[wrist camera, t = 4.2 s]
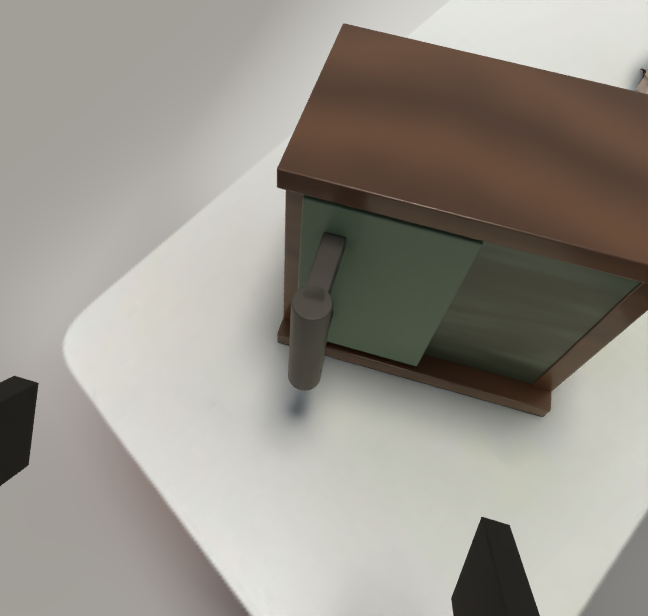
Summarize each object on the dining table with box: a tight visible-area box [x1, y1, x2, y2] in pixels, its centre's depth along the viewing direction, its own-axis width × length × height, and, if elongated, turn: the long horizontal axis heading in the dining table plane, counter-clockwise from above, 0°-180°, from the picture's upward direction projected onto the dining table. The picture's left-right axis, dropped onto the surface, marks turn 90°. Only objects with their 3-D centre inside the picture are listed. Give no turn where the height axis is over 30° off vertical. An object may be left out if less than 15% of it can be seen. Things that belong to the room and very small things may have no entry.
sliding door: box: [288, 195, 483, 390], centre depth 24 cm, size 5×7×11 cm
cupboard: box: [277, 24, 648, 416], centre depth 27 cm, size 10×16×14 cm, turn 75°
